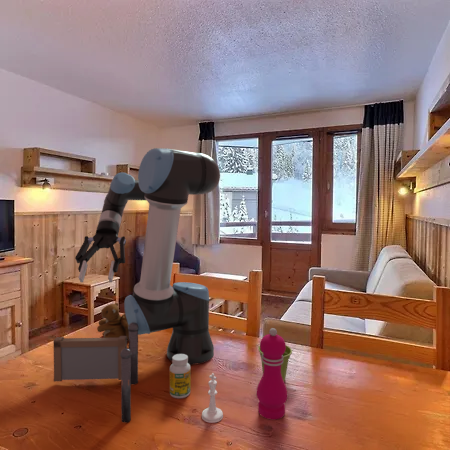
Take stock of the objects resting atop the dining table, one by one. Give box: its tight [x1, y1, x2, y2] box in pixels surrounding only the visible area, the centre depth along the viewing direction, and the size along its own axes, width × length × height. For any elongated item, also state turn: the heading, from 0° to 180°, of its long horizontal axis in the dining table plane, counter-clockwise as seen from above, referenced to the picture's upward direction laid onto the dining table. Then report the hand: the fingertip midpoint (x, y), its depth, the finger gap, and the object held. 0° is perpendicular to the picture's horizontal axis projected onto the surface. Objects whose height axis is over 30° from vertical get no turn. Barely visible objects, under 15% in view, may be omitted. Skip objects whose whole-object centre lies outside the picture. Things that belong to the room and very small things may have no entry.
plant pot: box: [257, 345, 293, 382], centre depth 95 cm, size 9×9×9 cm
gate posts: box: [120, 322, 139, 424], centre depth 84 cm, size 4×19×17 cm, turn 4°
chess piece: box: [201, 372, 224, 424], centre depth 78 cm, size 5×5×10 cm
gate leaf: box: [53, 336, 128, 383], centre depth 91 cm, size 19×2×11 cm, turn 94°
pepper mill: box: [256, 327, 288, 421], centre depth 79 cm, size 7×7×20 cm
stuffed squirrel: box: [96, 302, 129, 342], centre depth 121 cm, size 10×14×13 cm
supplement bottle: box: [169, 354, 192, 399], centre depth 87 cm, size 5×5×10 cm
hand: (95, 279), depth 106 cm, fingers open, 8 cm apart
